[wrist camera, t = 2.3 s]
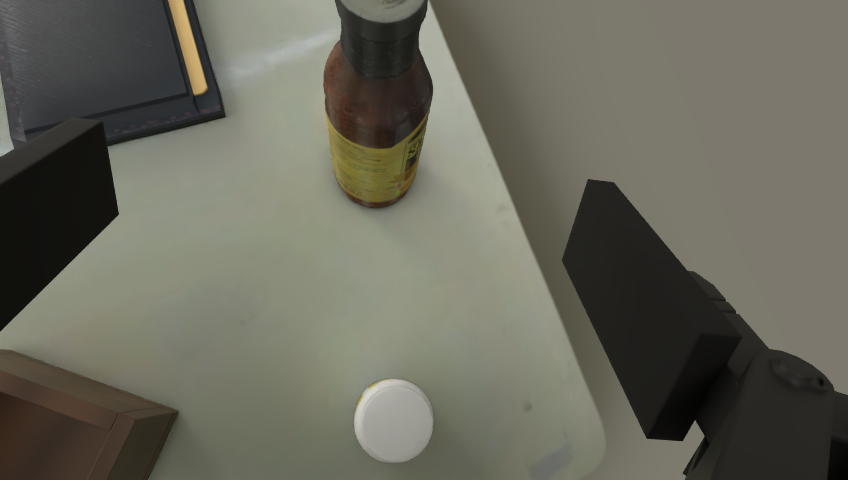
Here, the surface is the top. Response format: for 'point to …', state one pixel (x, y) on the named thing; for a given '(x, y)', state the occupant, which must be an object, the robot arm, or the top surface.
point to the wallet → (105, 66)
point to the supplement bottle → (393, 420)
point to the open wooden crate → (74, 425)
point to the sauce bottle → (377, 98)
